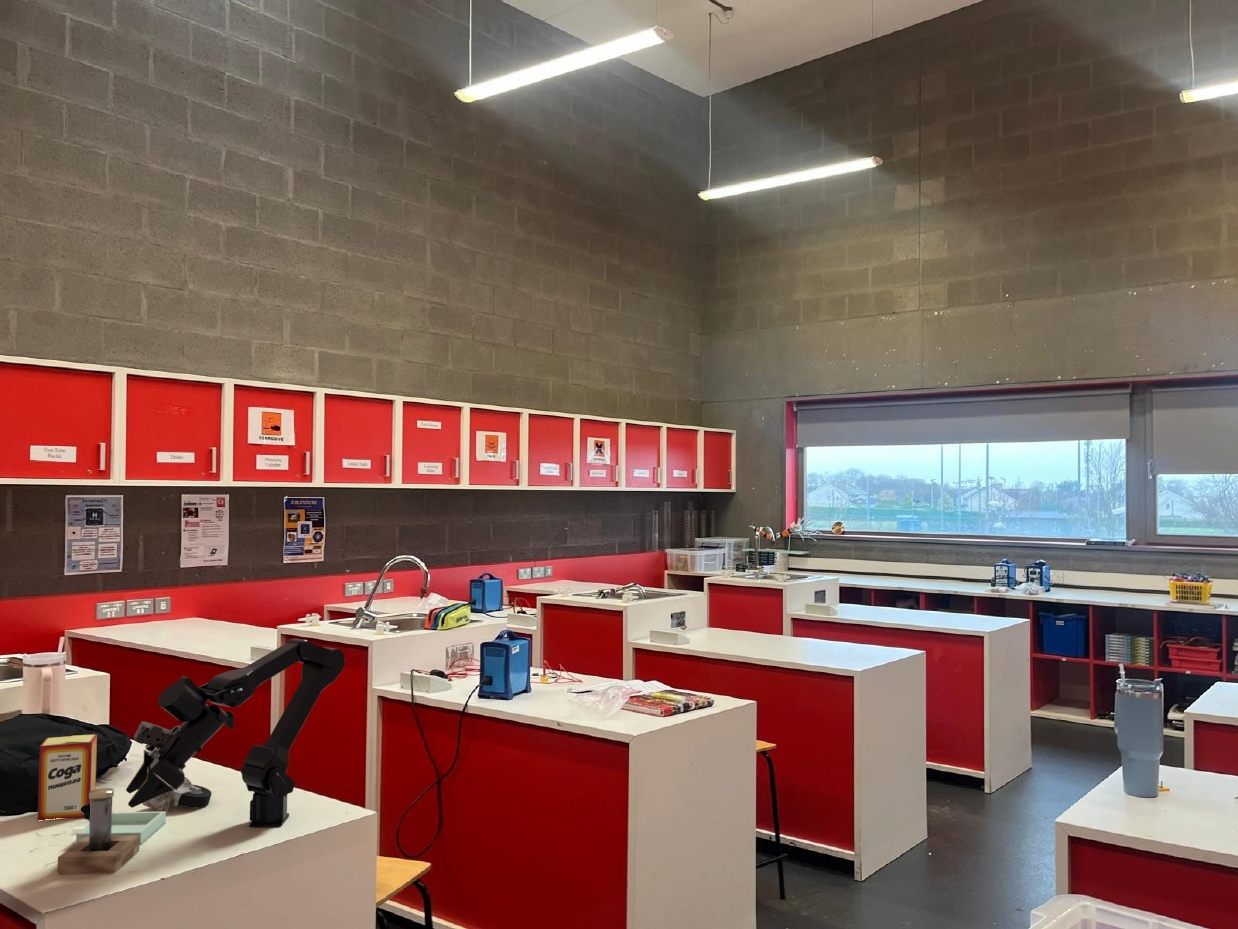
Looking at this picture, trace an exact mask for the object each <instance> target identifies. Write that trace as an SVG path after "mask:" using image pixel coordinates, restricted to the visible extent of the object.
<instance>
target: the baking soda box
mask: <svg viewBox="0 0 1238 929" xmlns="http://www.w3.org/2000/svg"><path fill="white" fill-rule="evenodd" d="M97 745H98V734H81V735H80V734H79V735H71V736H55V737H47V738H46V739H44V741H43V742H42V743H41V744H40V746H39V761H38V762H39V763H38V764H39V766H38V767H39V769H38V770H39V771H38V801H37V802H38V803H37V821H38V820H45V819H54V818H55V819H56V818H71V819H77V818H86V817H85V816H84V814H83V813H82V811H81V808H82V807H83V806H85V805H88V804H90V799H89V792H90V791H92V790H95V789H96V785H97V784H96V780H97V749H98V746H97Z"/></svg>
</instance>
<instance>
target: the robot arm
mask: <svg viewBox="0 0 1238 929" xmlns="http://www.w3.org/2000/svg"><path fill="white" fill-rule="evenodd" d="M345 657H346V656H345V655H344V652H343V651H342V650H341V649H339V648H332V647H326V646H320V645H319V644H316V643H312V642H310V641H309V640H307V639H300V638H291V639H288V640H287V641H286V643H284V644H282V645H281V646H279V647H277V648H276V649H274V650H272V651H270V652H269V653H267V654H266V655H264V656H262V657H260V658H259V659H256V660H255V661H253V662H252V663H250V664H248V665H247V666H244V667H241V668H237V669H233V670H228V671H225V672H222V673H219V674H217V675H214V676H213V677H212V678H210V680H209V681H208V682H207V683H205V684H203V685H199V686H198V685H196V684H195V682H194V681H193V680H192V679H191V678H189V677H187V676H181V677H179V679H178V680H177V681H174V682H173V683H171V684H169V685H168V686H167V687H166V688H164V689H163V690H162V691H161V693H160V694H159V696H158V699H157V704H158V706H159V707H160V708H161V709H163V710H164V711H165V712H166V713H168V714H170V715H171V716H172V717H174V718H175V719H176V720H177V721H179V722H180V723H182V724H181V725H174V726H173V728H172V729H168V728H165V727H162V725H161V726H160V725H157V724H153V723H151V722H147V721H143V720H141V722H140V724H139V725H138V728H137V730H136V731H135V734H133V739H134V740H133V741H134V742H136V743H138V744H141V745H144V744H145V746H144V747H145V749H143V762H142V764H141V766H140V767H139V769H138V770H137V771H136V773H135V775H134V776H133V778H132V779H131V781H130V782H129V784H128V785H127V787H126V788H125V791H126V792H127V793H128V794H132V793H134V792H135V793H134V794H133V796H132V797H131V799H130V800H129V802H128V803H127V806H128V807H129V808H135V807H137V806H140V805H141V804H142V805H143V803H144V802H146V801H148V800H150V799H153V798H155V797H157V796H159V795H162V794H164V793H166V792H169V791H173V790H174V789H175V790H177V789H178V788H179V787H180V786H181V785H182V784H183V783H184V779H185V771H184V770H185V768H186V767H187V766H186V763H187V762H189V760H191V758H193V756H195V754H196V753H198V754H200V753H201V752H202V751H203V750H204V749H203V746H204V745H205V744H206V743H207V742H208V741H209V740H210V739H211V738H212V737H213V736H214V735H215V734H216V733H217V732H218V731H219V730H220V729H221V728H222V726H224V725H225V726H226V727H228V728H229V729H230V730H233V729H234V728H235V726H234V725H235V720H234V718H235V714H234V713H233V712H232V711H231V710H227V711H226V710H225V711H224V710H223V709H222V708H221V707H219V706H224V707H228V708H237V707H239V706H241V705H242V704H244V703H245V702H246V701H247V700H249V699H250V698H251V697H252V696H253V695H254V694H255V692H256V690H257V688H258V687H259V686H261V685H262V684H263V683H265V682H266V681H268V680H270V679H271V678H274V676H276V675H279V673H280V674H281V673H282V672H283V671H285V670H286V669H289V668H290V667H292V666H293V665H294V664H296V663H298V662H299V663H302V666H301V680H300V683H299V684H298V686H297V687H296V690H295V691H294V693H293V695H292V697H291V698H290V701H289V702H288V704H287V706H286V707H285V709H284V711H283V713H282V714H281V716H280V718H279V720H278V721H277V723H276V725H275V727H274V729H273V730H272V732H271V734H270V735H269V737H268V739H267V741H265V742H264V743H263V744H261V745H257V744H253V745H252V747H251V748H250V750H249V752H248V754H247V756H246V758H245V759H243V761H242V764H243V766H242V767H241V770H240V774H241V779H242V782H244V784H245V785H246V789H247V791H248V792H252V793H253V794H252V799H251V800H250V801H249V821H250V822H249V826H248V827H251V828H252V827H255V828H256V827H257V828H258V827H281V826H283V824H284V823H285V822H286V821H287V819H288V818H289V817H290V813H288V795H289V794H290V793H293V791H294V788H295V786H296V781H295V780H294V779H293V778H292V777H290V775H288V774H287V770H288V769H289V768H288V767H289V765H290V764H289V763H290V754H289V753H290V750H291V747H292V746H293V744H294V742H295V740H296V739H297V736H298V734H300V732H301V730H302V728H303V726H304V724H305V722H306V720H307V718H308V717H309V715H310V713H311V712H312V710H313V708H314V706H315V704H316V702H317V700H318V698H319V697H320V696H321V693H322V691H324V690H325V689H326V688H327V687H329V685H331V684H332V683H334V682H335V681H336V680H337V678H338V677H339V675H340V674H341V672H342V671H344V669H345V666H346V658H345ZM207 702H210V703H211V704H209V705H208V704H207ZM173 788H174V789H173Z"/></svg>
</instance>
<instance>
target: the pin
mask: <svg viewBox="0 0 1238 929" xmlns="http://www.w3.org/2000/svg"><path fill="white" fill-rule="evenodd" d="M114 792H115V789H114V788H111V787H101V788H95V790H92V791H90V792H89V799H90V817H89V824H90V826H89V851H108V850H110V849H111V830H112V812H113V797H114V796H115V795H114V794H115V793H114Z"/></svg>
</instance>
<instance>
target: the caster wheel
mask: <svg viewBox="0 0 1238 929" xmlns="http://www.w3.org/2000/svg"><path fill="white" fill-rule="evenodd" d="M173 789H174V788H173ZM211 797H212V791H211V790H210V789H209V788H207V787H204V786H202V785H197V784H193V783H192V782H191V781H190V780H189V778H188V777H185V779H184V783H183V784H182V785H181V786H180V787H179V788H178V789H177V790H175V789H174V790H173V791H169V792H166V793H164V794H162V795H159V796H157V797H155V798H153V799H150V800H148V801H146V802H144V803H142V805H143V806H145V807H147V808H150V809H153V810H155V811H156V812H162V811H166V815H167V814H168V812H169V808H170V806H174V807H184V808H188V809H189V808H191V809H201V808H206V807H208V805H209V803H210V801H211Z"/></svg>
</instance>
